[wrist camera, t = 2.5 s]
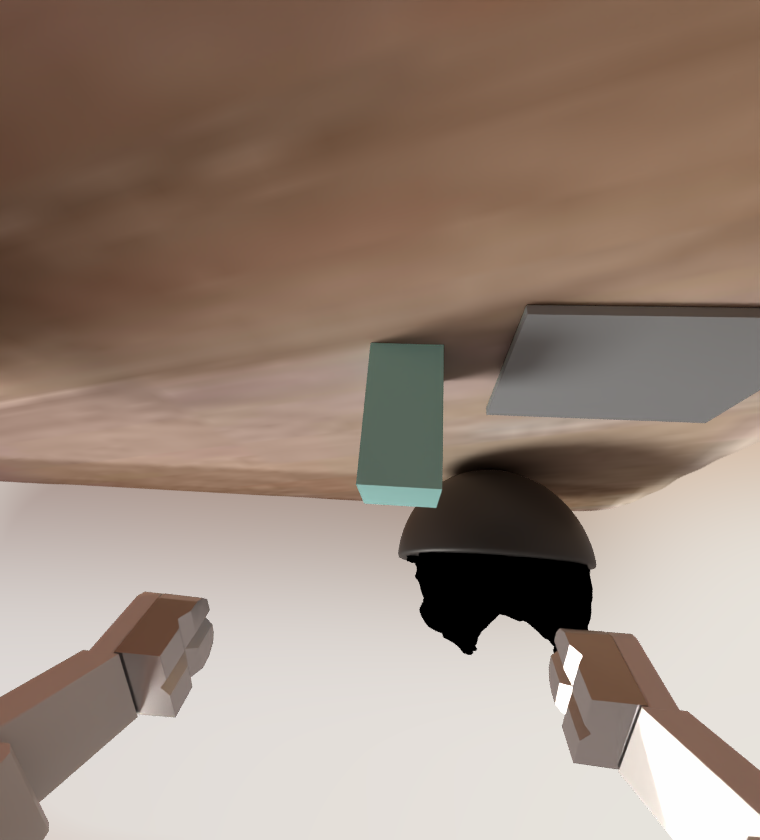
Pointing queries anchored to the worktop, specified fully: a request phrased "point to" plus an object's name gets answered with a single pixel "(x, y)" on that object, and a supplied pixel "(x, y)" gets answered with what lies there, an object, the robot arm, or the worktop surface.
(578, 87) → the worktop surface
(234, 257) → the worktop surface
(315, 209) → the worktop surface
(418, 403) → the teal block
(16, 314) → the worktop surface
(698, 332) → the rubber mat
